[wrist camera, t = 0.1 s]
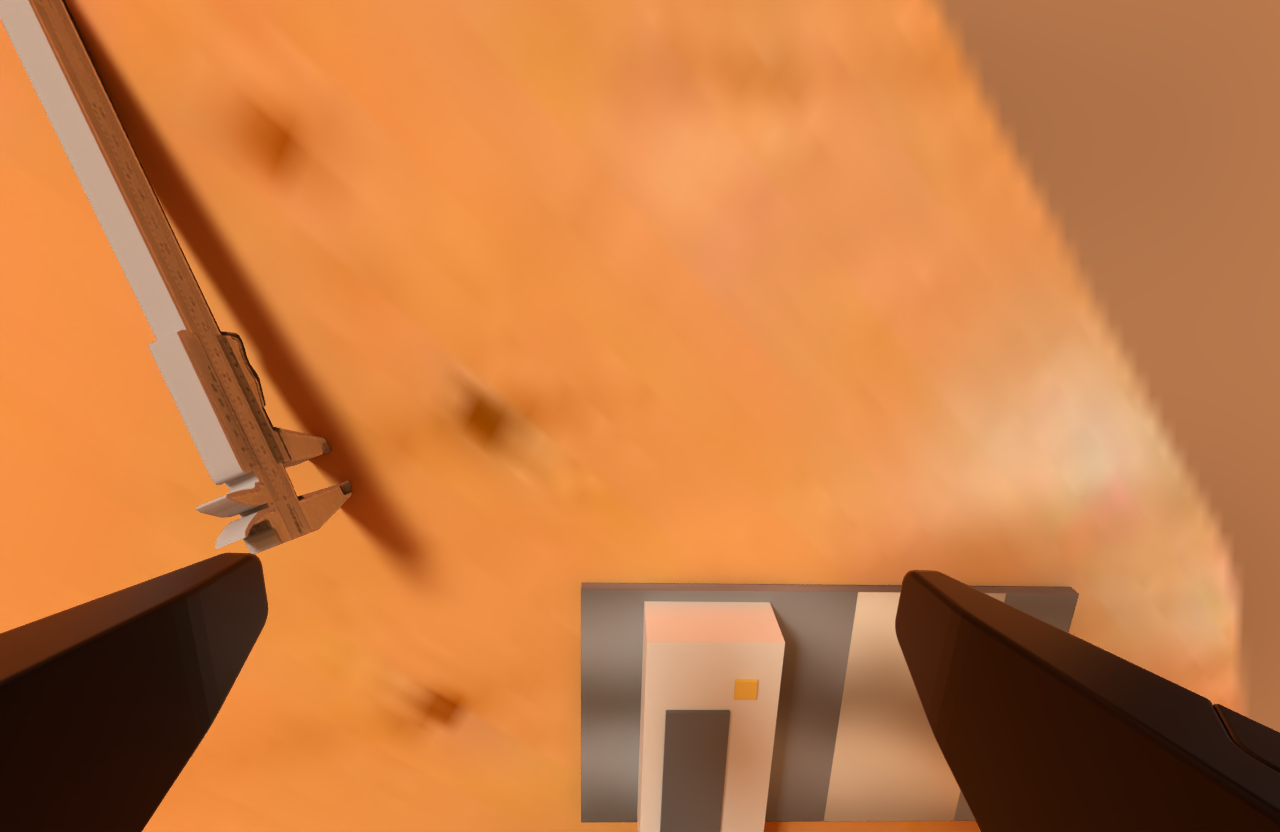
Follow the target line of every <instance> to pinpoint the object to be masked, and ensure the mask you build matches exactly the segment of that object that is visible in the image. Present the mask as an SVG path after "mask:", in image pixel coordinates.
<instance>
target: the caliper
mask: <svg viewBox="0 0 1280 832" xmlns="http://www.w3.org/2000/svg"><path fill="white" fill-rule="evenodd" d="M0 18H1V21H2V23H3V25H4V27H5V29H6V31H7V33H8V35H9V37H10V39H11V41H12V43H13V45H14V47H15V50H16V52H17V54H18V56H19V58H20V60H21V62H22V64H23V66H24V68H25V70H26V72H27V74H28V76H29V79H30V81H31V83H32V85H33V87H34V89H35V91H36V93H37V95H38V97H39V99H40V101H41V103H42V105H43V107H44V109H45V111H46V113H47V115H48V118H49V120H50V122H51V124H52V126H53V128H54V130H55V132H56V134H57V136H58V138H59V140H60V142H61V144H62V146H63V148H64V150H65V152H66V154H67V157H68V159H69V161H70V163H71V165H72V167H73V169H74V171H75V173H76V175H77V177H78V179H79V181H80V183H81V185H82V187H83V189H84V191H85V193H86V195H87V198H88V200H89V202H90V204H91V206H92V208H93V210H94V212H95V214H96V216H97V218H98V220H99V222H100V224H101V226H102V228H103V230H104V232H105V234H106V237H107V239H108V241H109V243H110V245H111V247H112V249H113V251H114V253H115V255H116V257H117V259H118V261H119V263H120V265H121V267H122V269H123V271H124V273H125V275H126V278H127V280H128V282H129V284H130V286H131V288H132V290H133V292H134V294H135V296H136V298H137V300H138V302H139V304H140V306H141V308H142V310H143V312H144V314H145V317H146V319H147V321H148V323H149V325H150V327H151V329H152V331H153V333H154V335H155V337H156V339H157V341H155V342H153V343H151V344H149V345H148V347H149V349H150V351H151V353H152V355H153V357H154V359H155V361H156V363H157V365H158V368H159V370H160V372H161V374H162V376H163V378H164V380H165V382H166V384H167V387H168V389H169V391H170V393H171V395H172V397H173V399H174V401H175V403H176V405H177V408H178V410H179V412H180V414H181V416H182V418H183V420H184V422H185V424H186V427H187V429H188V431H189V433H190V435H191V437H192V439H193V441H194V443H195V445H196V448H197V450H198V452H199V454H200V456H201V458H202V460H203V462H204V464H205V467H206V469H207V471H208V473H209V475H210V477H211V478H212V480H213V482H214V483H215V484H216V485H221V484H223V483H225V484H226V485H227V486H228V488H229V489H230V491H231V492H230V493H228V494H227V495H224V496H222V497H219V498H217V499H215V500H212V501H210V502H207V503H205V504H202V505H200V506H197V507H196V510H198V511H199V512H201V513H205V514H209V515H213V516H217V517H232V516H235V515H238V514H240V516H241V519H238V520H236V521H233V522H231V523H229V524H228V525H227V527H226V528H225V529H224V530H223V531H222V532H221V533H220V535H219V537H218V539H217V541H216V543H215V549H218V548H220V547H223V546H226V545H228V544H231V543H233V542H236V541H238V540H241V539H243V540H244V542H245V543H246V545H247V547H248V549H249V551H250V553H251V554H256V553H259V552H261V551H264V550H267V549H269V548H272V547H275V546H277V545H280V544H282V543H285V542H287V541H290V540H293V539H295V538H298V537H300V536H303V535H305V534H308V533H310V532H313V531H316V530H318V529H319V528H320V527H321V526H322V525H323V524H324V523H325V522H326V521H327V520H328V519H329V518H330V517H331V516H332V515H333V514H334V513H335V512H336V511H337V510H338V509H339V508H340V507H341V506H342V505H343V504H344V503H345V502H346V501H347V499H348V498H349V497H350V496H351V495H352V490H351V485H350V482H349V480H348V481H346V482H343V483H341V484H338V485H335V486H331V487H328V488H325V489H321V490H318V491H315V492H312V493H308V494H305V495H302V496H298V497H297V495H296V493H295V490H294V488H293V485H292V483H291V480H290V478H289V476H288V474H287V472H286V470H285V468H286V467H290V466H294V465H297V464H300V463H302V462H305V461H307V460H309V459H312V458H314V457H317V456H319V455H322V454H324V453H326V452H329V451H331V448H330V447H329V445H328V443H327V442H326V440H325V438H322V437H318V436H313V435H309V434H304V433H299V432H295V431H290V430H286V429H281V428H276V427H273V426H272V424H271V421H270V419H269V417H268V415H267V413H266V411H265V409H264V406H265V405H266V404H265V400H264V396H263V392H262V388H261V384H260V379H259V377H258V375H257V373H256V372H255V370H254V369H253V368H252V366H251V365H250V363H249V361H248V358H247V356H246V352H245V348H244V345H243V342H242V340H241V338H240V336H239V335H238V334H236V333H231V332H221V331H220V329H219V327H218V325H217V323H216V321H215V319H214V316H213V314H212V312H211V310H210V308H209V306H208V304H207V302H206V300H205V298H204V295H203V293H202V291H201V289H200V287H199V285H198V283H197V281H196V279H195V277H194V274H193V272H192V270H191V268H190V266H189V264H188V262H187V260H186V258H185V256H184V253H183V251H182V249H181V247H180V245H179V243H178V241H177V239H176V237H175V235H174V232H173V230H172V228H171V226H170V224H169V222H168V220H167V218H166V216H165V214H164V211H163V209H162V207H161V205H160V203H159V201H158V199H157V197H156V195H155V193H154V190H153V188H152V186H151V184H150V182H149V180H148V178H147V176H146V174H145V171H144V169H143V167H142V165H141V163H140V161H139V159H138V157H137V155H136V152H135V150H134V148H133V146H132V144H131V142H130V140H129V138H128V135H127V133H126V131H125V129H124V127H123V125H122V123H121V120H120V118H119V116H118V114H117V112H116V110H115V108H114V106H113V103H112V101H111V99H110V97H109V95H108V93H107V91H106V88H105V86H104V84H103V82H102V80H101V78H100V76H99V74H98V71H97V69H96V67H95V65H94V63H93V61H92V59H91V56H90V54H89V52H88V50H87V48H86V46H85V44H84V42H83V39H82V37H81V35H80V33H79V31H78V29H77V27H76V24H75V22H74V20H73V18H72V16H71V14H70V12H69V10H68V7H67V5H66V3H65V1H64V0H0Z"/></svg>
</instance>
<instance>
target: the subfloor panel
mask: <svg viewBox="0 0 1280 832" xmlns="http://www.w3.org/2000/svg"><path fill="white" fill-rule="evenodd" d="M970 587H972V588H974V589H977V590H979V591H981V592H983V593H985V594H987V595H989V596H991V597H993V598H996V599H998V600H1000V601H1002V602H1004V603H1006V604H1008V605H1010V606H1012V607H1015V608H1017V609H1019V610H1021V611H1023V612H1025V613H1027V614H1029V615H1031V616H1034V617H1036V618H1038V619H1040V620H1042V621H1044V622H1046V623H1048V624H1050V625H1053V626H1055V627H1057V628H1059V629H1061V630H1063V631H1065V632H1067V633H1068V632H1069V628H1070V625H1071V621H1072V617H1073V613H1074V610H1075V606H1076V602H1077V599H1078V595H1079V594H1078V593H1077V592H1076V591H1075V590H1074V589H1072V588H1071V587H1014V586H970ZM901 588H902V586H898V585H781V584H665V583H582V586H581V822H637V806H638V776H639V747H640V718H641V688H642V659H643V629H644V601H664V602H770V604H771V607H772V609H773V612H774V615H775V617H776V620H777V622H778V625H779V628H780V630H781V633H782V636H783V638H784V641H785V648H784V657H783V666H782V675H781V683H780V692H779V701H778V710H777V719H776V727H775V736H774V745H773V754H772V762H771V771H770V780H769V789H768V798H767V806H766V815H765V822H789V821H824V822H880V821H976V820H975V818H974V816H973V814H972V812H971V810H970V808H969V806H968V804H967V802H966V800H965V798H964V796H963V794H962V792H961V790H960V788H959V786H958V784H957V782H956V780H955V778H954V776H953V774H952V772H951V770H950V768H949V766H948V764H947V762H946V760H945V758H944V756H943V754H942V752H941V749H940V747H939V745H938V743H937V741H936V739H935V737H934V734H933V732H932V730H931V727H930V725H929V722H928V720H927V717H926V714H925V712H924V709H923V706H922V704H921V701H920V698H919V696H918V693H917V690H916V688H915V685H914V682H913V680H912V677H911V674H910V672H909V669H908V666H907V664H906V661H905V658H904V656H903V653H902V650H901V647H900V645H899V642H898V639H897V636H896V631H895V619H896V614H897V608H898V603H899V598H900V593H901Z"/></svg>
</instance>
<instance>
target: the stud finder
mask: <svg viewBox="0 0 1280 832" xmlns="http://www.w3.org/2000/svg"><path fill="white" fill-rule="evenodd" d="M784 648H785V641H784V638H783V636H782V633H781V630H780V628H779V625H778V622H777V620H776V617H775V615H774V612H773V609H772V607H771V604H770V602H664V601H644V629H643V659H642V688H641V718H640V747H639V776H638V806H637V824H638V832H764V824H765V815H766V806H767V798H768V789H769V780H770V771H771V762H772V754H773V745H774V736H775V727H776V719H777V710H778V701H779V692H780V683H781V675H782V666H783V657H784Z"/></svg>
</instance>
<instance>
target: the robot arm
mask: <svg viewBox="0 0 1280 832" xmlns="http://www.w3.org/2000/svg"><path fill="white" fill-rule="evenodd" d="M267 615H268V602H267V595H266V589H265V582H264V575H263V569H262V564H261V561H260V559H259V558H258V557H257V556H256V555H254V554H250V553H223V554H220V555H217V556H214V557H212V558H209V559H206V560H203V561H200V562H198V563H195V564H192V565H189V566H187V567H184V568H181V569H178V570H176V571H173V572H170V573H167V574H164V575H162V576H159V577H156V578H153V579H151V580H148V581H145V582H142V583H140V584H137V585H134V586H131V587H128V588H126V589H123V590H120V591H117V592H115V593H112V594H109V595H106V596H104V597H101V598H98V599H95V600H92V601H90V602H87V603H84V604H81V605H79V606H76V607H73V608H70V609H68V610H65V611H62V612H59V613H56V614H54V615H51V616H48V617H45V618H43V619H40V620H37V621H34V622H31V623H29V624H26V625H23V626H20V627H18V628H15V629H12V630H9V631H7V632H4V633H1V634H0V832H142V830H143V829H144V827H145V826H146V824H147V823H148V821H149V820H150V818H151V817H152V815H153V814H154V812H155V811H156V809H157V808H158V806H159V805H160V803H161V802H162V800H163V799H164V797H165V796H166V794H167V792H168V791H169V789H170V788H171V786H172V785H173V783H174V782H175V780H176V779H177V777H178V776H179V774H180V773H181V771H182V770H183V768H184V767H185V765H186V764H187V762H188V761H189V759H190V758H191V756H192V755H193V753H194V752H195V750H196V749H197V747H198V745H199V744H200V742H201V741H202V739H203V738H204V736H205V734H206V733H207V731H208V730H209V728H210V726H211V725H212V723H213V721H214V719H215V718H216V716H217V714H218V712H219V711H220V709H221V707H222V705H223V703H224V701H225V699H226V697H227V696H228V694H229V692H230V690H231V688H232V686H233V684H234V682H235V680H236V678H237V677H238V675H239V673H240V671H241V669H242V667H243V665H244V663H245V661H246V659H247V657H248V656H249V654H250V652H251V650H252V648H253V646H254V644H255V642H256V640H257V638H258V637H259V635H260V633H261V631H262V629H263V627H264V625H265V622H266V619H267ZM895 631H896V636H897V639H898V642H899V645H900V647H901V650H902V653H903V656H904V658H905V661H906V664H907V666H908V669H909V672H910V674H911V677H912V680H913V682H914V685H915V688H916V690H917V693H918V696H919V698H920V701H921V704H922V706H923V709H924V712H925V714H926V717H927V720H928V722H929V725H930V727H931V730H932V732H933V734H934V737H935V739H936V741H937V743H938V745H939V747H940V749H941V752H942V754H943V756H944V758H945V760H946V762H947V764H948V766H949V768H950V770H951V772H952V774H953V776H954V778H955V780H956V782H957V784H958V786H959V788H960V790H961V792H962V794H963V796H964V798H965V800H966V802H967V804H968V806H969V808H970V810H971V812H972V814H973V816H974V818H975V820H976V822H977V824H978V826H979V828H980V830H981V832H1280V733H1279V732H1277V731H1275V730H1273V729H1271V728H1269V727H1266V726H1264V725H1262V724H1260V723H1258V722H1256V721H1253V720H1251V719H1249V718H1247V717H1245V716H1243V715H1241V714H1239V713H1237V712H1234V711H1232V710H1230V709H1228V708H1226V707H1224V706H1222V705H1219V704H1214V705H1212V703H1211V701H1210V700H1208V699H1207V698H1205V697H1202V696H1200V695H1198V694H1196V693H1194V692H1192V691H1190V690H1188V689H1186V688H1183V687H1181V686H1179V685H1177V684H1175V683H1173V682H1171V681H1169V680H1167V679H1164V678H1162V677H1160V676H1158V675H1156V674H1154V673H1152V672H1150V671H1148V670H1145V669H1143V668H1141V667H1139V666H1137V665H1135V664H1133V663H1131V662H1129V661H1126V660H1124V659H1122V658H1120V657H1118V656H1116V655H1114V654H1112V653H1110V652H1107V651H1105V650H1103V649H1101V648H1099V647H1097V646H1095V645H1093V644H1091V643H1088V642H1086V641H1084V640H1082V639H1080V638H1078V637H1076V636H1074V635H1072V634H1069V633H1067V632H1065V631H1063V630H1061V629H1059V628H1057V627H1055V626H1053V625H1050V624H1048V623H1046V622H1044V621H1042V620H1040V619H1038V618H1036V617H1034V616H1031V615H1029V614H1027V613H1025V612H1023V611H1021V610H1019V609H1017V608H1015V607H1012V606H1010V605H1008V604H1006V603H1004V602H1002V601H1000V600H998V599H996V598H993V597H991V596H989V595H987V594H985V593H983V592H981V591H979V590H977V589H974V588H972V587H970V586H968V585H966V584H964V583H962V582H960V581H958V580H955V579H953V578H951V577H949V576H947V575H945V574H943V573H941V572H938V571H928V570H912V571H909V572H908V573H906V575H905V577H904V579H903V582H902V588H901V593H900V598H899V603H898V608H897V614H896V619H895Z"/></svg>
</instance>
